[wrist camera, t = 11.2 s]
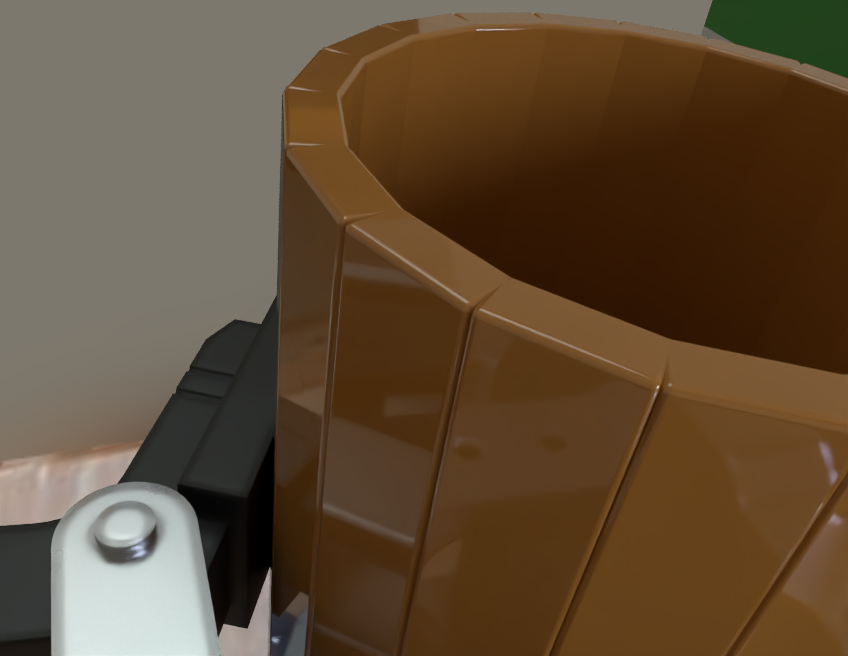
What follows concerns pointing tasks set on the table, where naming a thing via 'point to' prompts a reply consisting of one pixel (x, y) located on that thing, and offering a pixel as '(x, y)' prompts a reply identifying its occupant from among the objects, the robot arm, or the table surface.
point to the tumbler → (560, 346)
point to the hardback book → (785, 29)
